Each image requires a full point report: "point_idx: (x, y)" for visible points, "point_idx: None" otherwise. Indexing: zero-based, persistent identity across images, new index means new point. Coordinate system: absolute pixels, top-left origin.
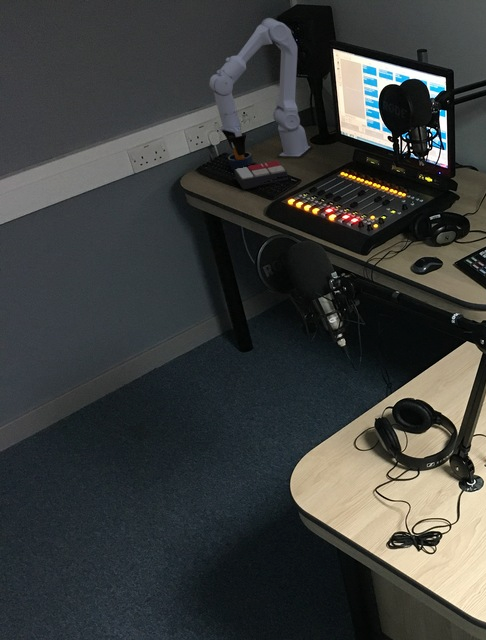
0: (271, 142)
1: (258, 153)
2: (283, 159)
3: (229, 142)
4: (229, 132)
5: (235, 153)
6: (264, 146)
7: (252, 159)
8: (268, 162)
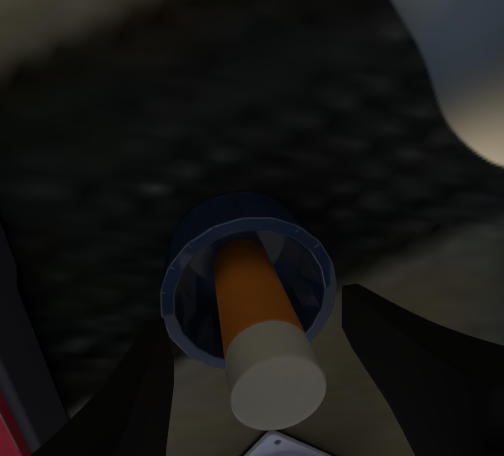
0: None
1: None
2: (224, 439)
3: (381, 317)
4: (452, 429)
5: (234, 298)
6: None
7: None
8: (9, 451)
